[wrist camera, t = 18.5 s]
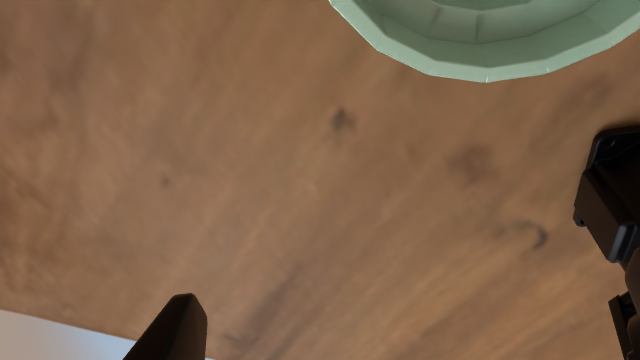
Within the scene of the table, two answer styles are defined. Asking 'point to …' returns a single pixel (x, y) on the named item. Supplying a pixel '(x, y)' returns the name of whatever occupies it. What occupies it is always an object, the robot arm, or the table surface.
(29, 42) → the table surface
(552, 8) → the bowl
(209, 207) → the table surface
